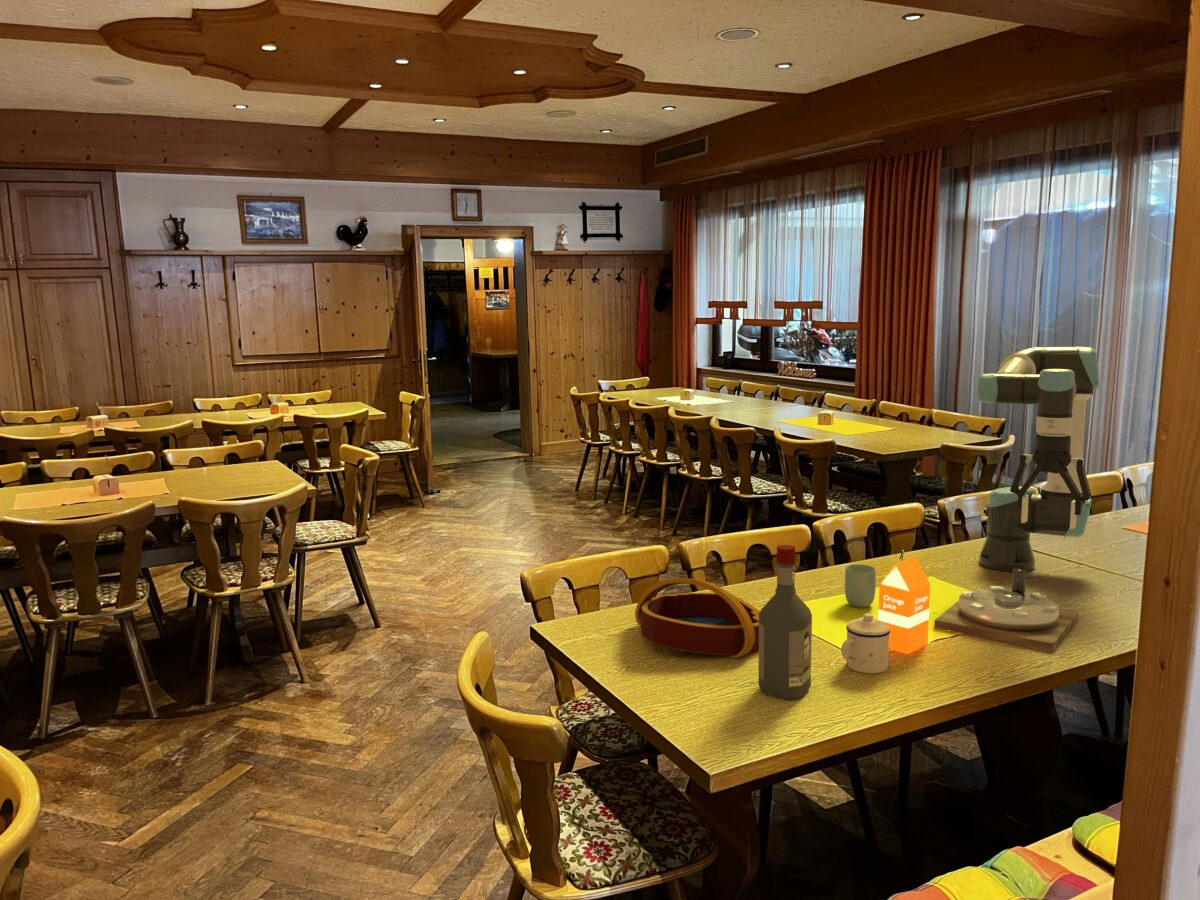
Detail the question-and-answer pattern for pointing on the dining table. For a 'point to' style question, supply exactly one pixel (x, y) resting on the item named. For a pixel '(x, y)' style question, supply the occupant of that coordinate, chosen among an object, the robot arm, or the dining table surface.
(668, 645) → the decorative basket
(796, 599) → the liquor
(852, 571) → the cup
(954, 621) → the base plate
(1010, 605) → the crank wheel
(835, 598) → the dining table surface
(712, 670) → the dining table surface
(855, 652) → the teacup with lid
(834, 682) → the dining table surface
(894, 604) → the orange juice
